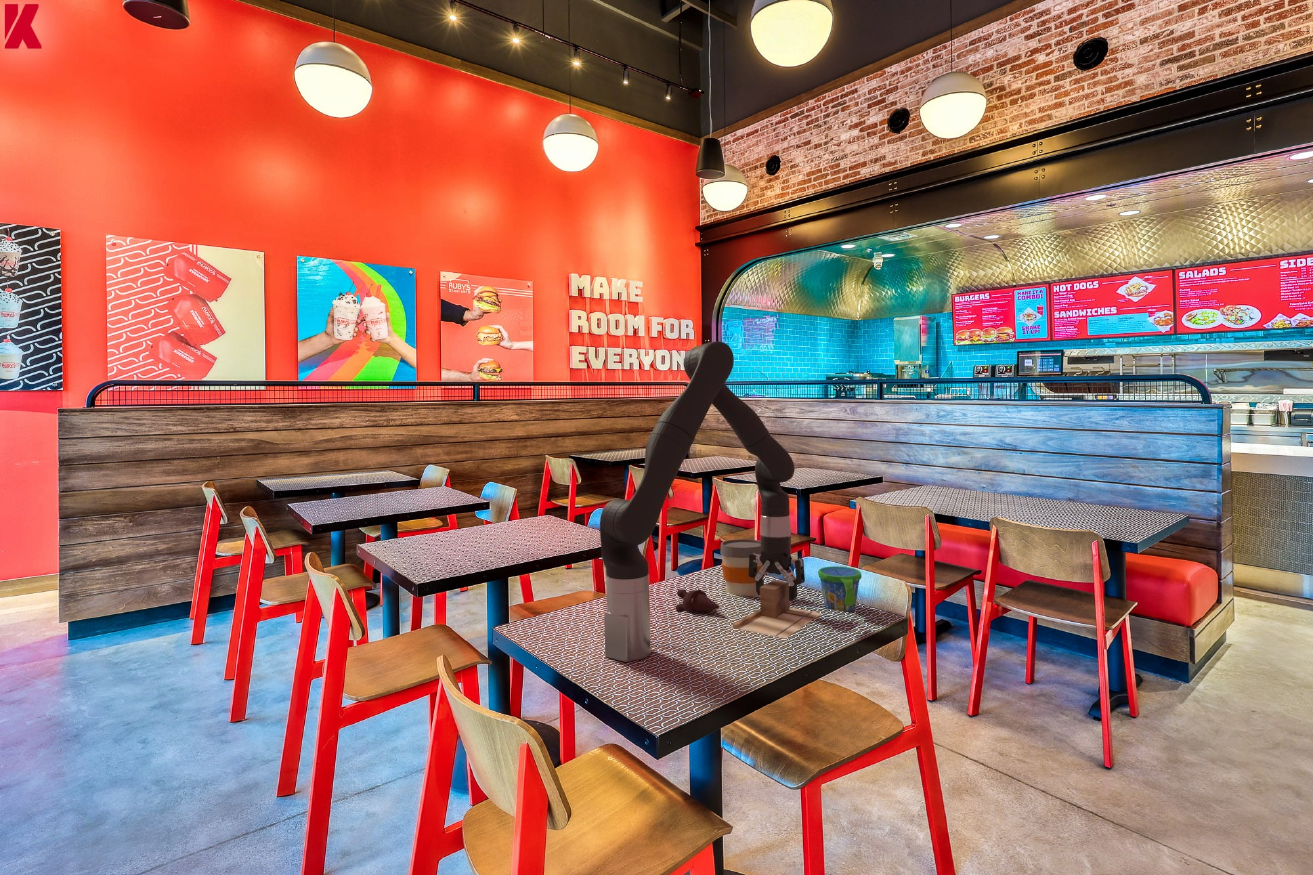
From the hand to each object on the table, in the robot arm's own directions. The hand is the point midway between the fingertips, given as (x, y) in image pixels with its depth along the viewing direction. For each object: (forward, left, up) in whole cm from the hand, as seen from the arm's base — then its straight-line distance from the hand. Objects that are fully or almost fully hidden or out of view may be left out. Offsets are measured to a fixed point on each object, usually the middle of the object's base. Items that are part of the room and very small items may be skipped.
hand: (776, 597), depth 158 cm
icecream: (-9, +18, -5) cm, 21 cm away
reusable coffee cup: (+12, +16, -5) cm, 21 cm away
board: (-6, -3, -5) cm, 8 cm away
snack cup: (+14, -11, -5) cm, 19 cm away
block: (-1, 0, -4) cm, 4 cm away
